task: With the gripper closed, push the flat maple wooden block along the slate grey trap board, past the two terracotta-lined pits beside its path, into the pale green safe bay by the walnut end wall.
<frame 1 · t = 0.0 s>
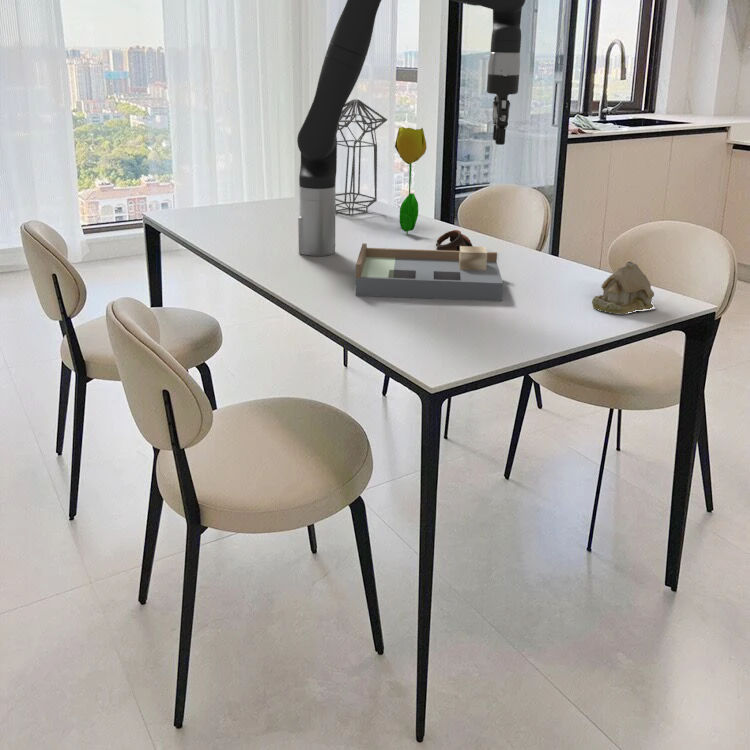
hand: (498, 142, 208), 29 cm above the table, fingers open, 8 cm apart
trap board: (428, 285, 194), on the table
ceramic model: (623, 308, 182), on the table
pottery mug: (455, 258, 219), on the table
flower: (407, 234, 244), on the table
maple block: (472, 266, 195), point 4 cm above the table, touching trap board
geometric lantern: (353, 213, 272), on the table
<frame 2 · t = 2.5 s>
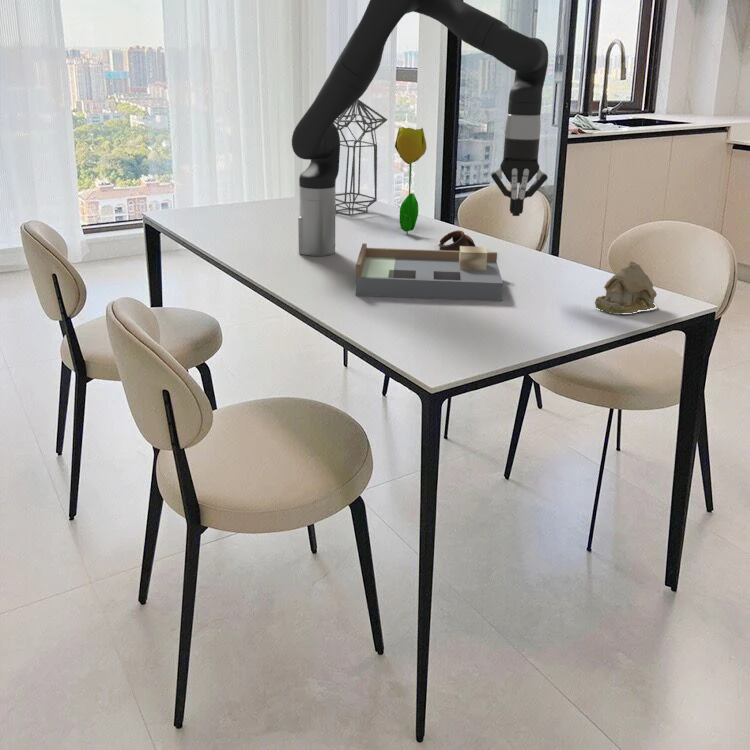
hand: (515, 215, 190), 16 cm above the table, fingers closed
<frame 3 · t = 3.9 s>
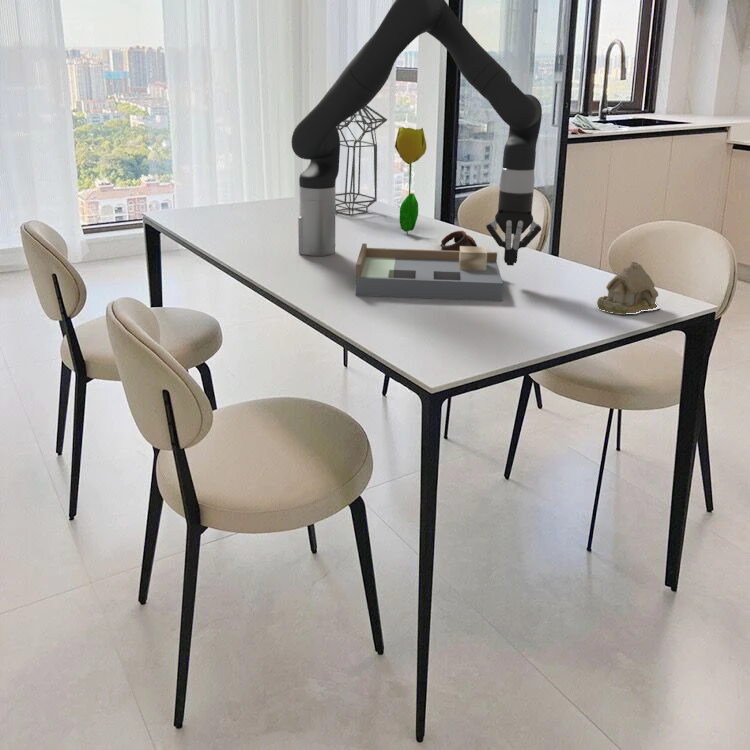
hand: (510, 264, 194), 5 cm above the table, fingers closed
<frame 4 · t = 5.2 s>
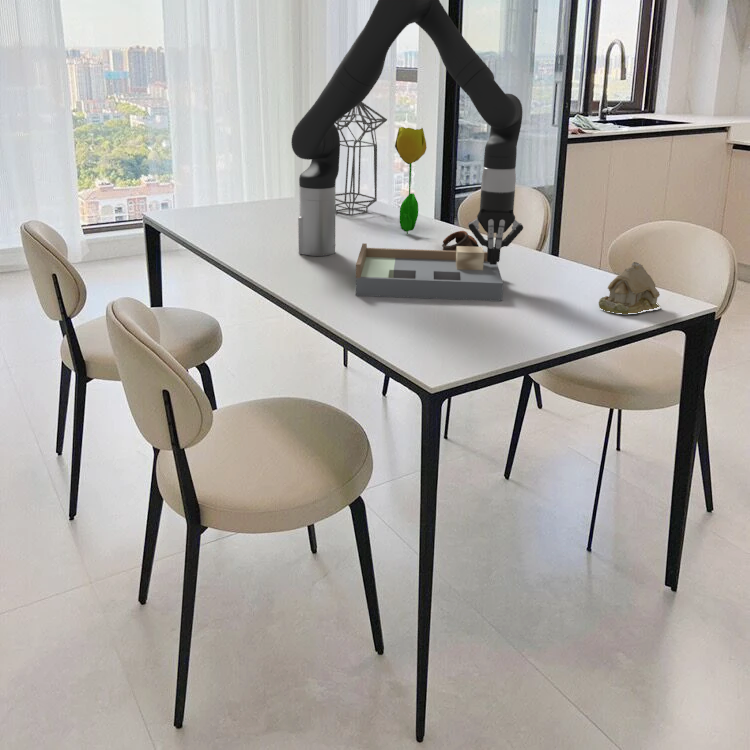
hand: (492, 263, 195), 5 cm above the table, fingers closed
maple block: (469, 266, 195), point 4 cm above the table, touching gripper
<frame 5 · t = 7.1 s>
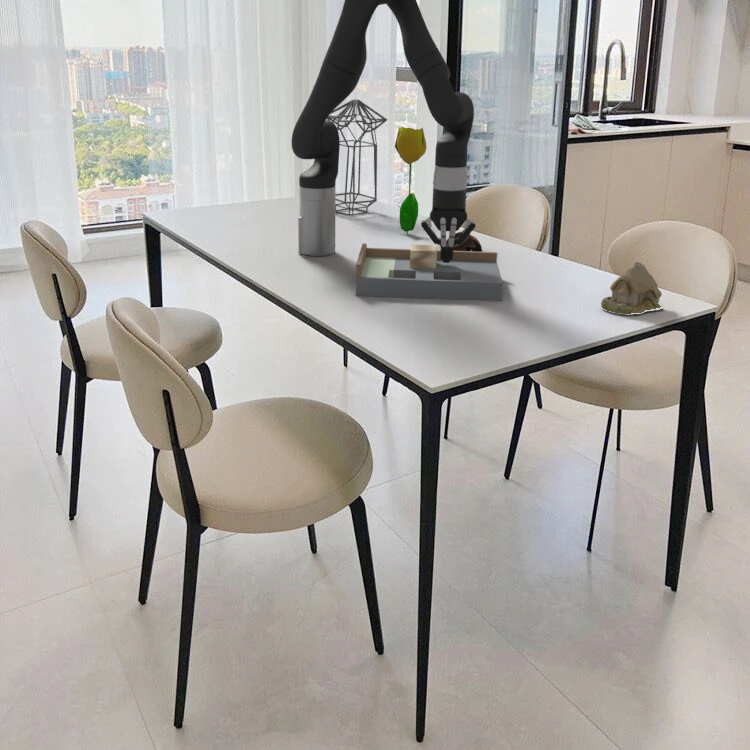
hand: (446, 261, 195), 5 cm above the table, fingers closed
maple block: (422, 264, 195), point 4 cm above the table, touching gripper
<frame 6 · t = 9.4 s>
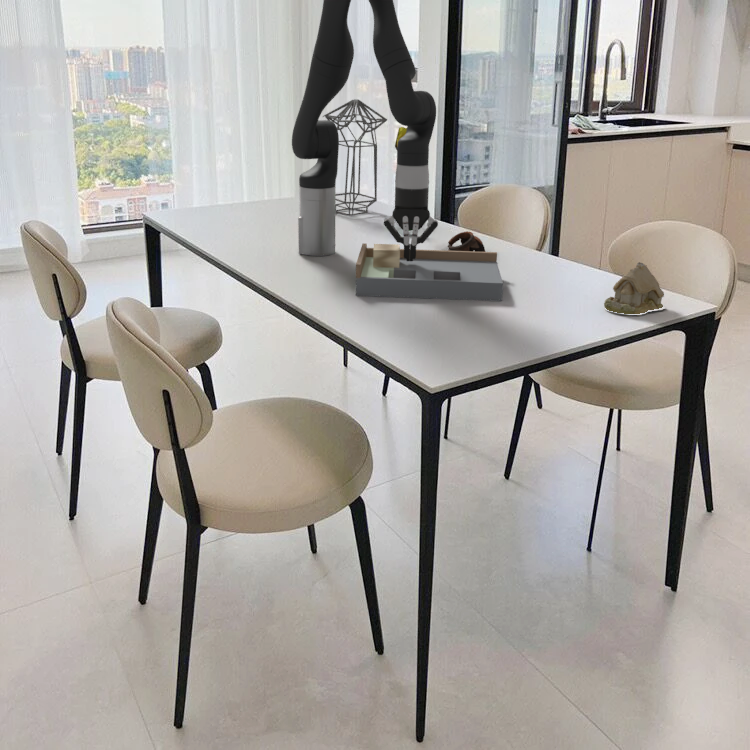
hand: (409, 260, 195), 5 cm above the table, fingers closed
maple block: (386, 264, 195), point 4 cm above the table, touching gripper, trap board
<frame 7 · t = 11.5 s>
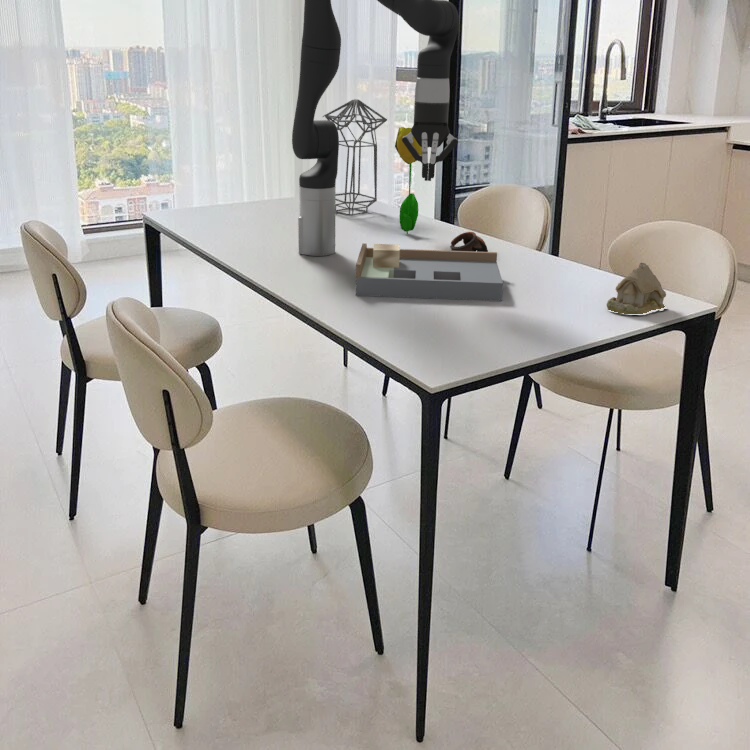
hand: (427, 180, 190), 23 cm above the table, fingers closed
maple block: (386, 264, 195), point 4 cm above the table, touching trap board
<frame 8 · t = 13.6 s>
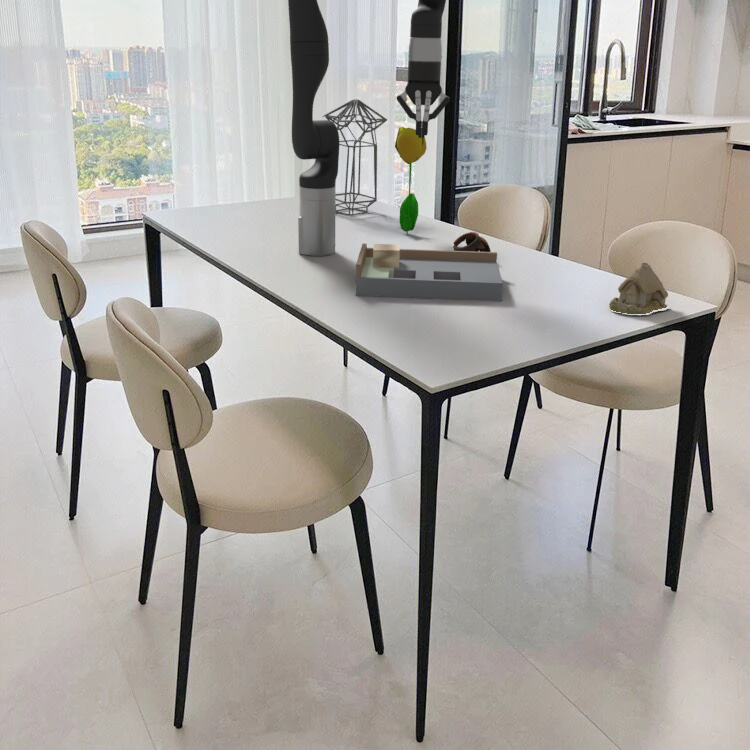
hand: (421, 137, 199), 31 cm above the table, fingers closed
at the end: maple block inside the target area (1.1 cm from its centre), point 4.0 cm above the table; maple block tilted 0°; maple block moved 20.0 cm from its start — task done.
